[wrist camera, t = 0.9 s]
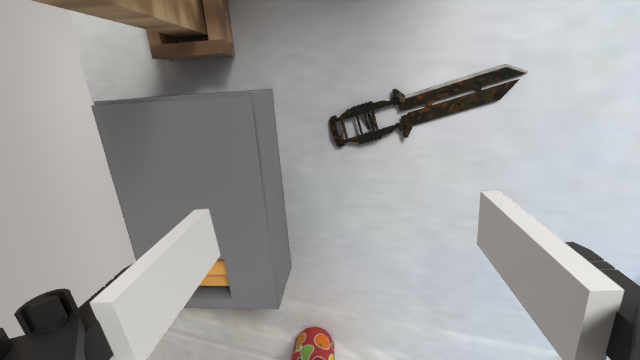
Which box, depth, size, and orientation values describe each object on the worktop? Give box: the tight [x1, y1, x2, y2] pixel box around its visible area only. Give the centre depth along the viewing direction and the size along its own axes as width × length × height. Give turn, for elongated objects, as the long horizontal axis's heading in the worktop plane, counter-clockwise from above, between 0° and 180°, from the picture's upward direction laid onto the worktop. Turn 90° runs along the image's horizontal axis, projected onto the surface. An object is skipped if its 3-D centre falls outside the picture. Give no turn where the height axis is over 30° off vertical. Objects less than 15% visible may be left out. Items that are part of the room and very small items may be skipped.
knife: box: [329, 64, 528, 147], centre depth 39 cm, size 25×6×1 cm, turn 103°
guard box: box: [91, 89, 291, 309], centre depth 41 cm, size 28×18×10 cm, turn 4°
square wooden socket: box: [146, 0, 235, 61], centre depth 37 cm, size 9×9×4 cm
